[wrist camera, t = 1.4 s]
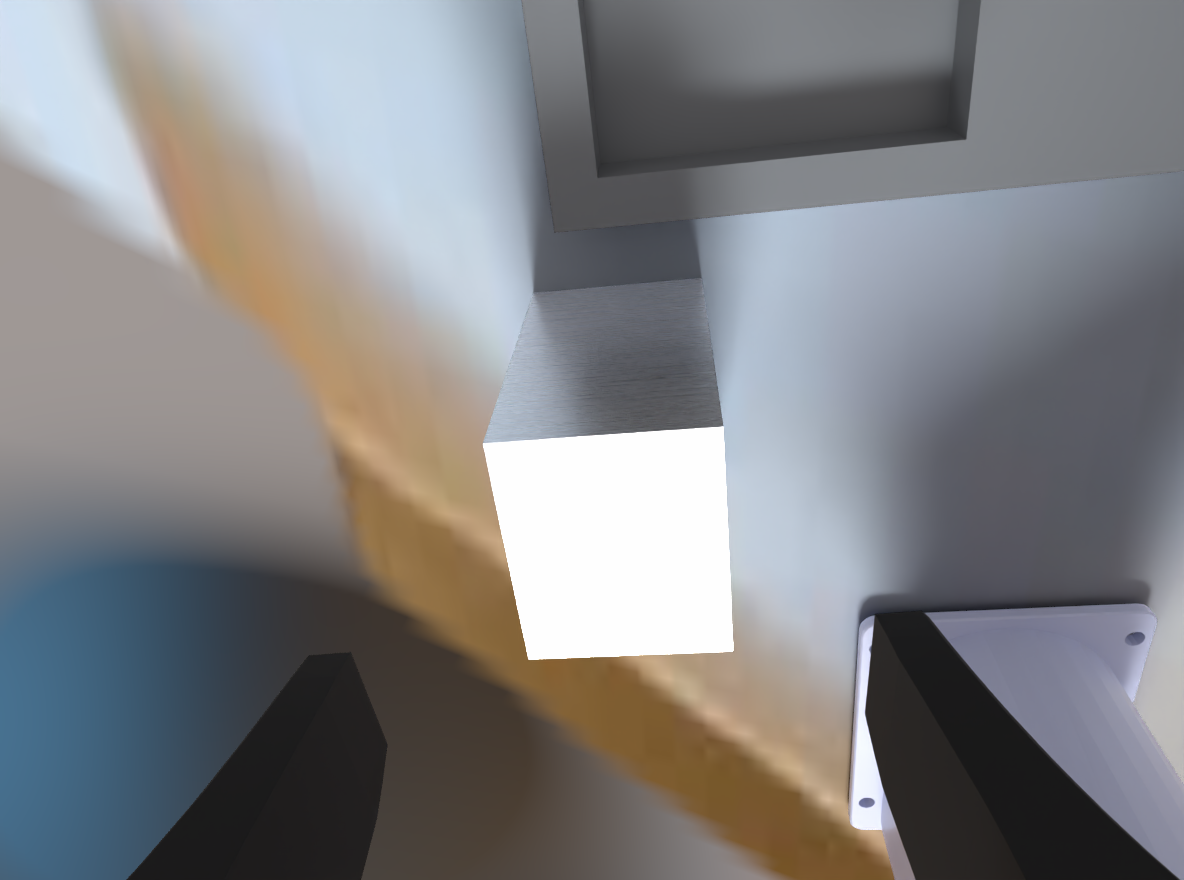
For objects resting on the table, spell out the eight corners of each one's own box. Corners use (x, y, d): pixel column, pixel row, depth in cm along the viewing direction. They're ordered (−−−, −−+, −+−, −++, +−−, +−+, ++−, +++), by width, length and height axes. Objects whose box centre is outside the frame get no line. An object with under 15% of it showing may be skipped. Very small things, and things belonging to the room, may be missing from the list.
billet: (710, 458, 22) (733, 650, 16) (561, 468, 23) (528, 659, 17) (701, 277, 20) (723, 426, 14) (533, 292, 20) (482, 443, 14)
